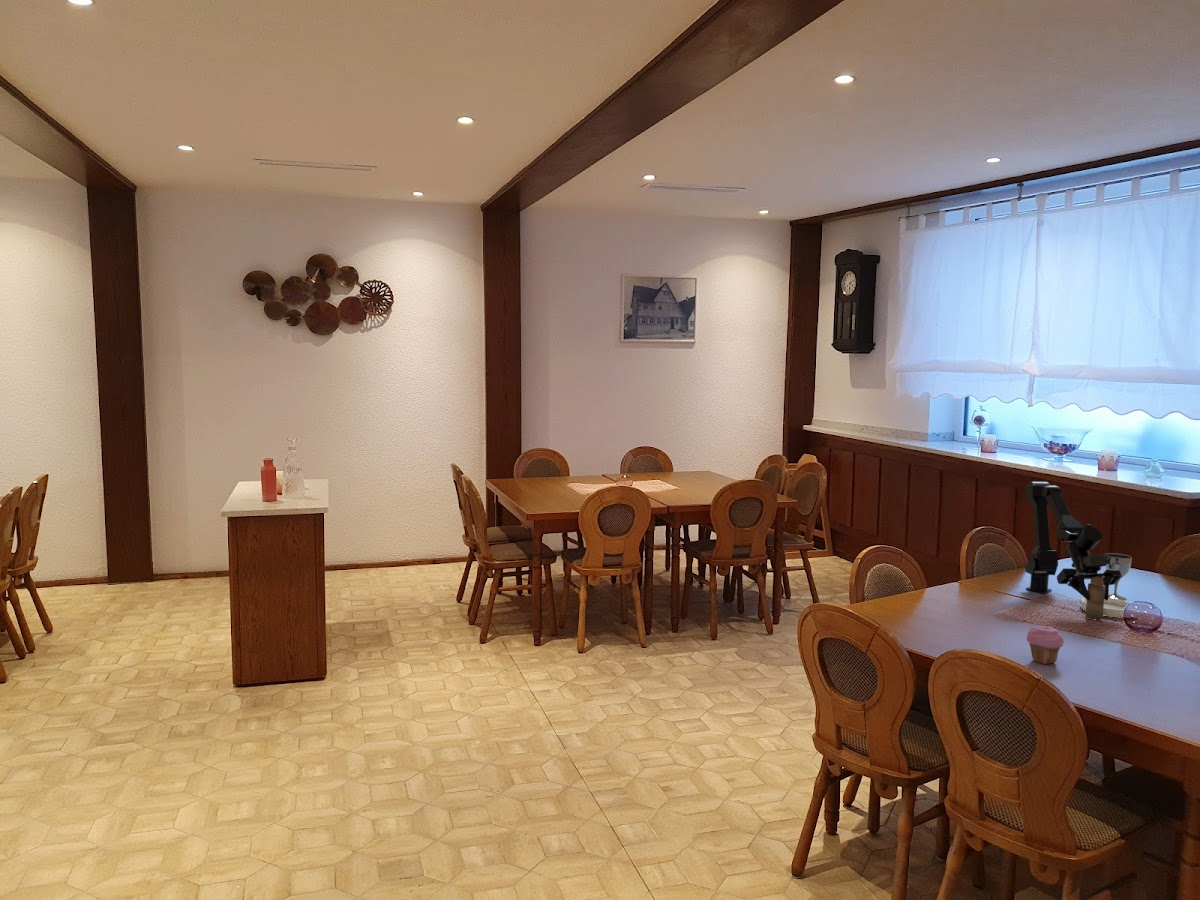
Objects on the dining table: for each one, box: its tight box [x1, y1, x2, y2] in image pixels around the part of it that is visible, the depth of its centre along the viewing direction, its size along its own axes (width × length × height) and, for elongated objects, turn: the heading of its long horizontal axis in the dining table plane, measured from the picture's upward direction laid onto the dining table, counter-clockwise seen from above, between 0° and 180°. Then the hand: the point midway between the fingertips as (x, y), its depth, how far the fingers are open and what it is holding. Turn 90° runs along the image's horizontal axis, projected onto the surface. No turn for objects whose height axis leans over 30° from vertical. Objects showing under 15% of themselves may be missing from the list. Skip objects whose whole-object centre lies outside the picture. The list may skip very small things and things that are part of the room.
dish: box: [1079, 596, 1131, 618], centre depth 289 cm, size 16×16×3 cm
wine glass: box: [1105, 552, 1133, 601], centre depth 306 cm, size 8×8×15 cm
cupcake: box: [1026, 625, 1065, 665], centre depth 237 cm, size 9×9×10 cm
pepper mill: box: [1084, 576, 1105, 620], centre depth 279 cm, size 5×5×14 cm
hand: (1098, 599), depth 278 cm, fingers open, 6 cm apart
